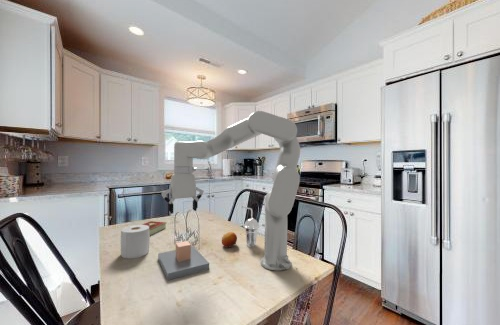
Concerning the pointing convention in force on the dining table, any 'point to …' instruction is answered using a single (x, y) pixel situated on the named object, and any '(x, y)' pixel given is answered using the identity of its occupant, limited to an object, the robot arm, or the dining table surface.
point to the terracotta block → (183, 251)
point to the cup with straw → (251, 230)
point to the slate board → (182, 264)
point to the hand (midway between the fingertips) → (183, 211)
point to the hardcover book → (155, 226)
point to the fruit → (229, 239)
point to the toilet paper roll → (134, 241)
